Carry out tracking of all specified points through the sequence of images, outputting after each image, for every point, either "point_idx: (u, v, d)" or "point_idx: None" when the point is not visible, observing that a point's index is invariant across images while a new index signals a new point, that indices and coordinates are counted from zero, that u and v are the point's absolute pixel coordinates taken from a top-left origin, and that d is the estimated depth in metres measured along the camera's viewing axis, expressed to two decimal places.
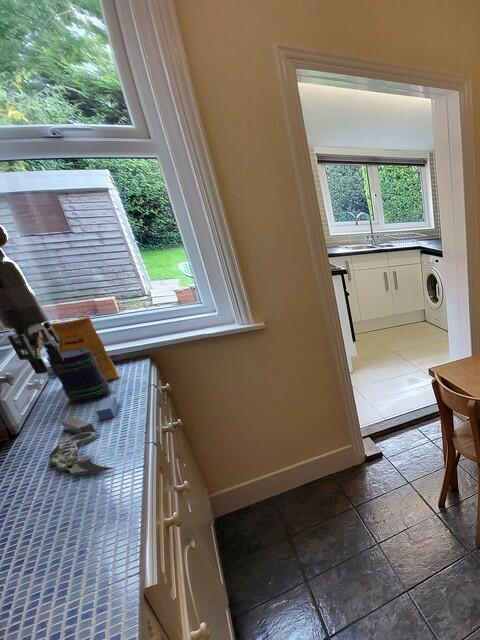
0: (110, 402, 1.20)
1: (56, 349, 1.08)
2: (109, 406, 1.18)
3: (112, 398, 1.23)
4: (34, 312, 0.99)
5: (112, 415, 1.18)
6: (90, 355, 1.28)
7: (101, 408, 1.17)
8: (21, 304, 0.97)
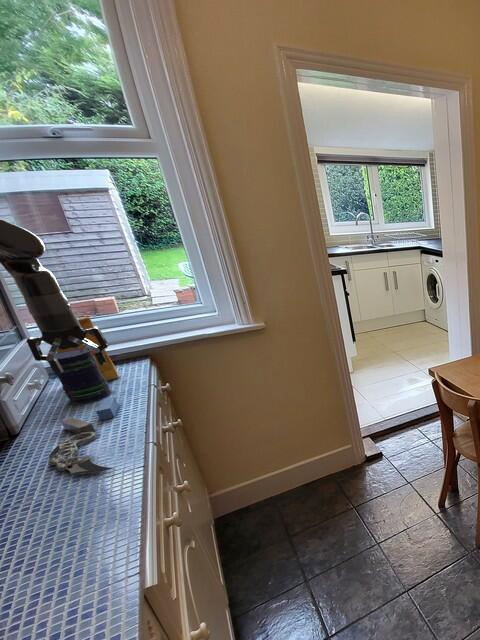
0: (110, 402, 1.20)
1: (95, 353, 1.13)
2: (109, 406, 1.18)
3: (112, 398, 1.23)
4: (41, 321, 1.04)
5: (112, 415, 1.18)
6: (90, 355, 1.28)
7: (101, 408, 1.17)
8: (32, 313, 1.03)
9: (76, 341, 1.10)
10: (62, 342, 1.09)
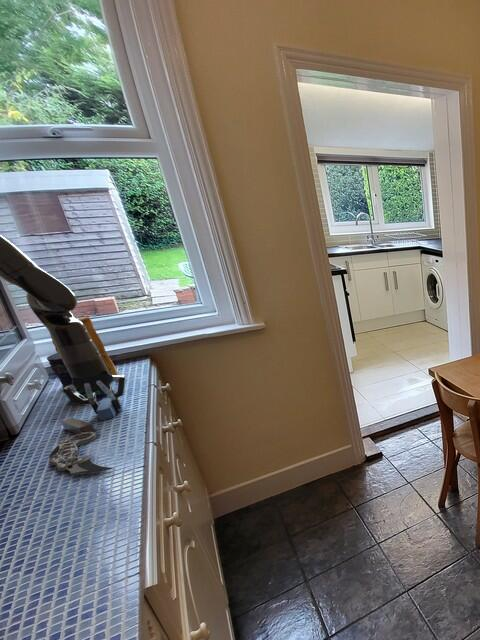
0: (110, 402, 1.20)
1: (111, 401, 1.20)
2: (109, 406, 1.18)
3: None
4: (73, 368, 1.11)
5: (112, 415, 1.18)
6: None
7: (101, 408, 1.17)
8: (64, 361, 1.10)
9: (103, 385, 1.17)
10: (92, 385, 1.16)
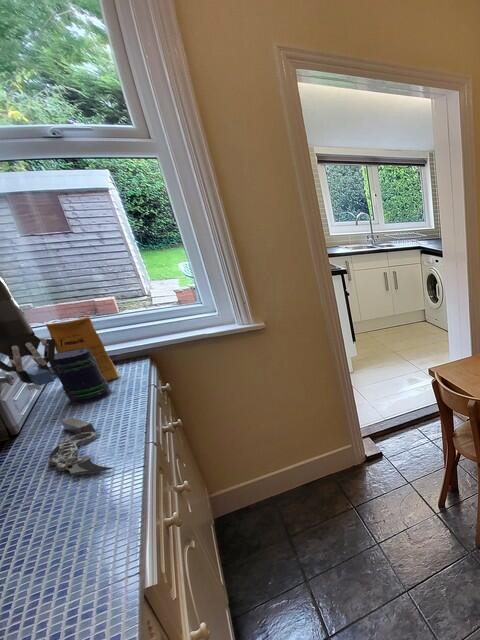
0: (38, 369, 1.11)
1: (41, 367, 1.10)
2: (43, 370, 1.09)
3: (32, 367, 1.12)
4: (0, 328, 1.02)
5: (52, 379, 1.10)
6: (90, 355, 1.28)
7: (37, 373, 1.08)
8: None
9: (33, 348, 1.08)
10: (19, 348, 1.06)
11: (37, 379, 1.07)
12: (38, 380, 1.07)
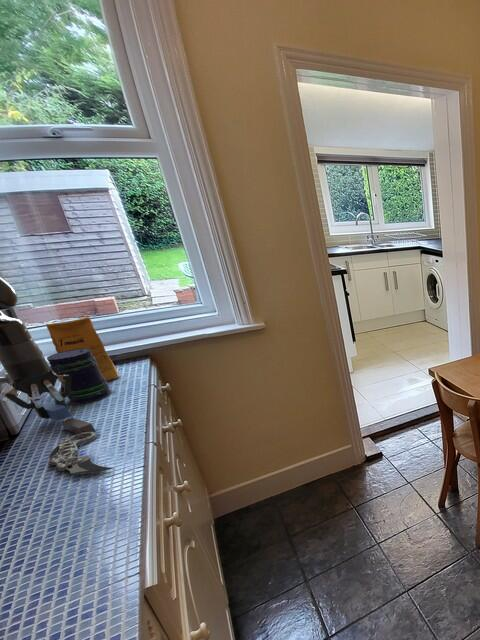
0: (55, 404, 1.15)
1: (58, 402, 1.15)
2: (60, 406, 1.14)
3: (50, 402, 1.16)
4: (20, 368, 1.06)
5: (69, 414, 1.14)
6: (90, 355, 1.28)
7: (55, 409, 1.12)
8: (8, 361, 1.04)
9: (51, 385, 1.12)
10: (37, 386, 1.10)
11: (55, 415, 1.12)
12: (56, 416, 1.12)
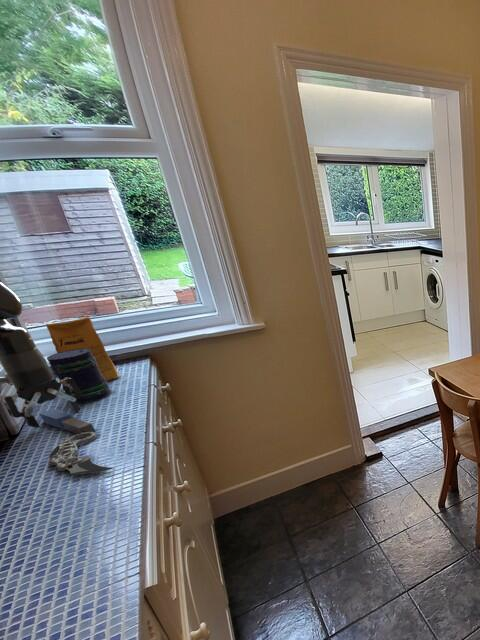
0: (59, 412, 1.16)
1: (71, 403, 1.17)
2: (64, 413, 1.15)
3: (54, 410, 1.17)
4: (25, 377, 1.07)
5: None
6: (90, 355, 1.28)
7: (59, 416, 1.13)
8: (13, 370, 1.05)
9: (55, 393, 1.13)
10: (40, 396, 1.11)
11: (59, 423, 1.13)
12: (60, 424, 1.13)
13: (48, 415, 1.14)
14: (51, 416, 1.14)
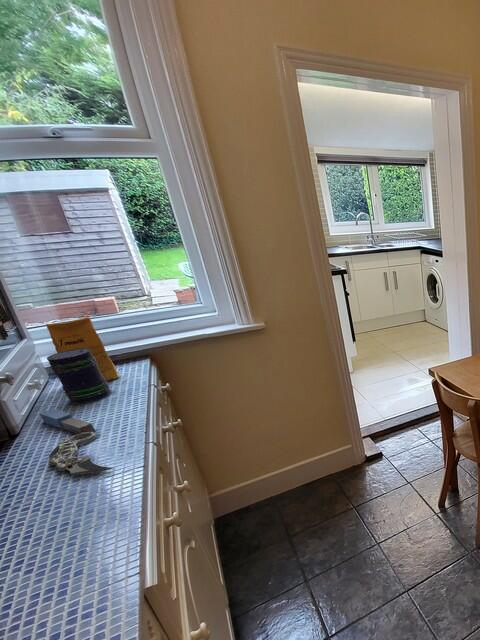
0: (59, 412, 1.16)
1: None
2: (64, 413, 1.15)
3: (54, 410, 1.17)
4: None
5: None
6: (90, 355, 1.28)
7: (59, 416, 1.13)
8: None
9: None
10: None
11: (59, 423, 1.13)
12: (60, 424, 1.13)
13: (48, 415, 1.14)
14: (51, 416, 1.14)
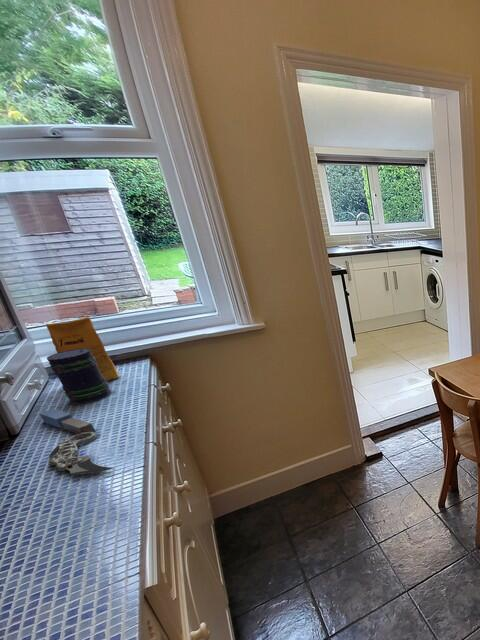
0: (59, 412, 1.16)
1: None
2: (64, 413, 1.15)
3: (54, 410, 1.17)
4: None
5: None
6: (90, 355, 1.28)
7: (59, 416, 1.13)
8: None
9: None
10: None
11: (59, 423, 1.13)
12: (60, 424, 1.13)
13: (48, 415, 1.14)
14: (51, 416, 1.14)
